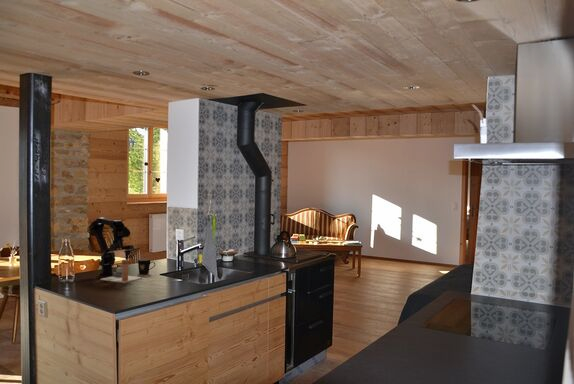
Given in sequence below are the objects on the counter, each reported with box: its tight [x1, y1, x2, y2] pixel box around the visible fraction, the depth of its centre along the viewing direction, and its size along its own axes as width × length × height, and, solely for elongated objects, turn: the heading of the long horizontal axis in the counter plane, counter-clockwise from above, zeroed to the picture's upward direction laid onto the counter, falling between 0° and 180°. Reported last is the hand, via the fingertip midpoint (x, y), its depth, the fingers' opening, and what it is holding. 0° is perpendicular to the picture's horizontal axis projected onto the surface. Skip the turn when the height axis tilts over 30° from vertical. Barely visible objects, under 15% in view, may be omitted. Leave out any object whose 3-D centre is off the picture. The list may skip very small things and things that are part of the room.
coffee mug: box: [137, 258, 156, 276], centre depth 329 cm, size 12×9×10 cm
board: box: [100, 271, 143, 284], centre depth 310 cm, size 20×17×3 cm
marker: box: [121, 259, 130, 281], centre depth 303 cm, size 4×4×13 cm
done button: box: [115, 266, 122, 273], centre depth 316 cm, size 4×4×4 cm
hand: (120, 261), depth 315 cm, fingers open, 9 cm apart
